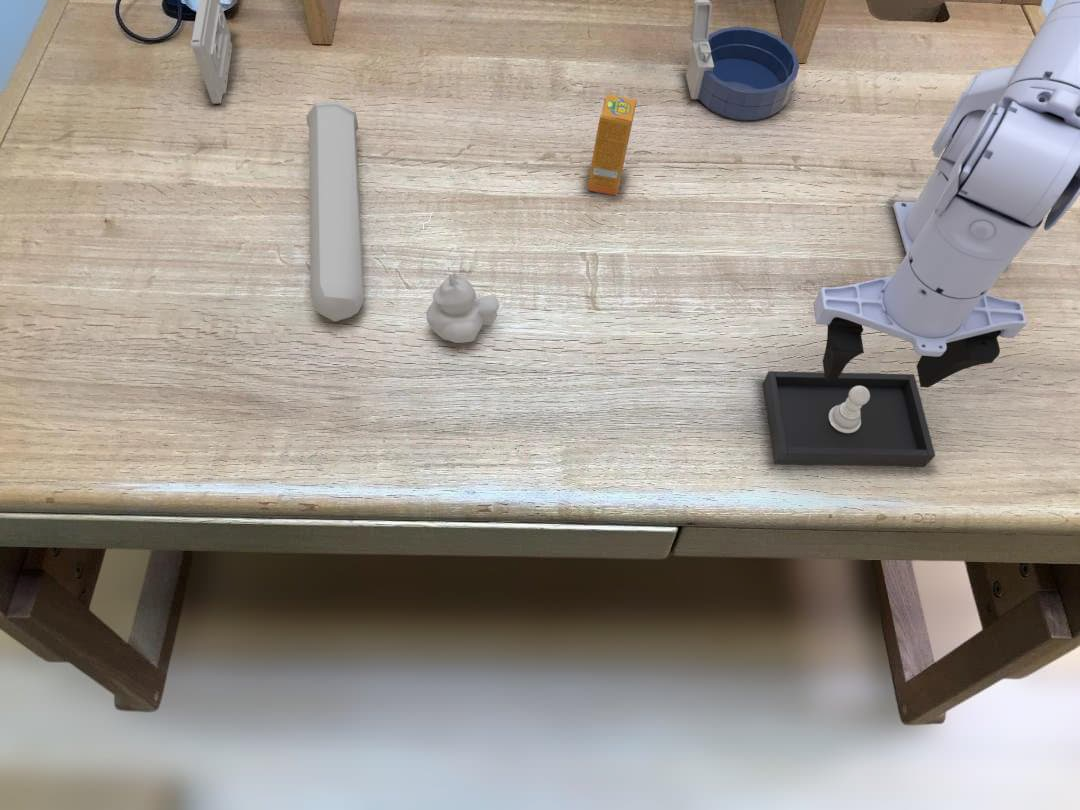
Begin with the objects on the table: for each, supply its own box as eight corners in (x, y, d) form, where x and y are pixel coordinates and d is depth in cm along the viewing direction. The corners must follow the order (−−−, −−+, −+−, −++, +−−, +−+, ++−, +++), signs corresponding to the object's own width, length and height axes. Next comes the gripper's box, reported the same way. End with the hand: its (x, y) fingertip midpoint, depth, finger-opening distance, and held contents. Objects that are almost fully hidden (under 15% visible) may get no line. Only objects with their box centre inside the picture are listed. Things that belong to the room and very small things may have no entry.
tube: (373, 299, 76) (362, 105, 88) (311, 292, 74) (309, 95, 86) (362, 333, 80) (353, 143, 92) (303, 328, 78) (303, 135, 90)
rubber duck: (426, 307, 80) (419, 251, 74) (496, 301, 81) (495, 246, 74) (430, 355, 78) (423, 302, 71) (502, 348, 78) (502, 295, 72)
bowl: (781, 57, 101) (791, 28, 97) (795, 123, 95) (806, 94, 92) (687, 54, 100) (693, 24, 97) (695, 120, 95) (703, 91, 91)
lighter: (706, 99, 96) (721, 37, 89) (691, 99, 96) (705, 37, 89) (696, 57, 100) (710, -5, 93) (681, 58, 100) (694, -5, 93)
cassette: (219, 35, 99) (198, -27, 92) (235, 34, 99) (216, -28, 93) (208, 105, 93) (185, 45, 87) (225, 105, 93) (204, 44, 87)
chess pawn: (856, 438, 74) (877, 410, 70) (824, 427, 75) (844, 398, 70) (863, 413, 76) (884, 383, 71) (832, 401, 76) (851, 371, 72)
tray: (904, 386, 78) (914, 374, 76) (925, 466, 74) (935, 455, 72) (762, 383, 78) (768, 370, 76) (774, 464, 73) (781, 453, 72)
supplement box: (619, 197, 88) (632, 121, 80) (587, 191, 89) (596, 115, 80) (624, 174, 90) (637, 98, 81) (592, 169, 90) (602, 92, 82)
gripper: (851, 305, 55) (790, 409, 67) (1074, 321, 55) (974, 422, 67) (838, 223, 59) (782, 336, 70) (1048, 238, 59) (957, 348, 70)
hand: (875, 373), depth 69 cm, fingers open, 7 cm apart
